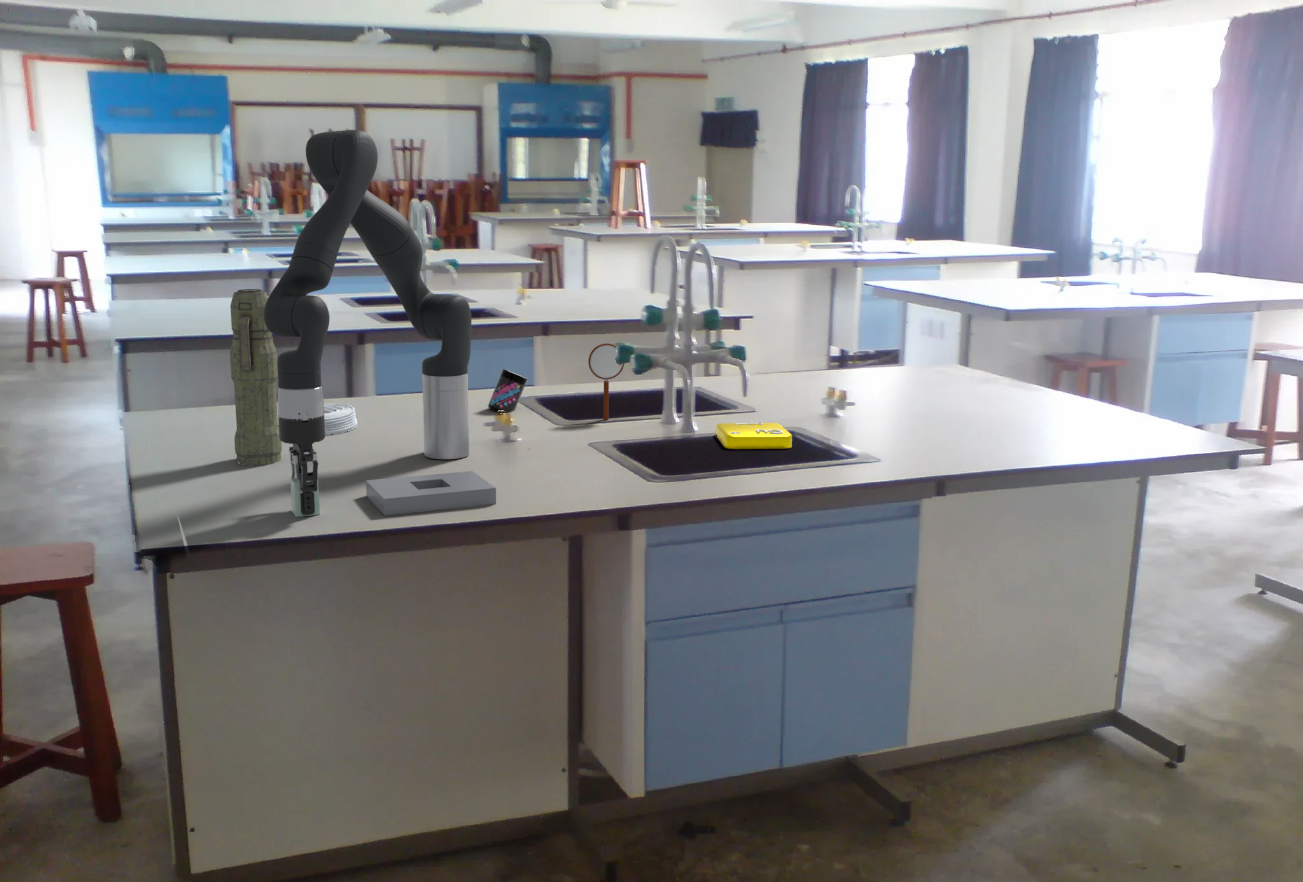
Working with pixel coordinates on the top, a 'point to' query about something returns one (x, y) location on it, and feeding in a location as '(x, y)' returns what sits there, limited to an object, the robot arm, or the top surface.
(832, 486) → the top surface
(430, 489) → the socket box
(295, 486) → the block
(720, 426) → the element tile
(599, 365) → the magnifying glass
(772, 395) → the top surface
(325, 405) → the cable
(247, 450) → the thermos
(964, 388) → the top surface
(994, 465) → the top surface
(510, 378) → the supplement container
